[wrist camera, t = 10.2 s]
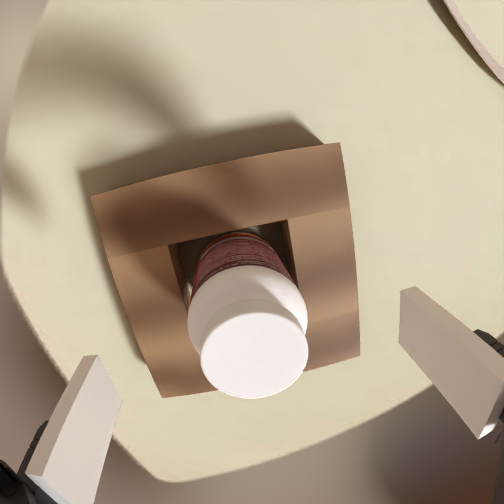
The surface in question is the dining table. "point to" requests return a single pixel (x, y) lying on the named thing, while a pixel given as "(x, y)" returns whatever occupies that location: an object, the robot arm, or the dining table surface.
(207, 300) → the pill bottle
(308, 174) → the socket block
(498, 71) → the plate
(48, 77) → the dining table surface
